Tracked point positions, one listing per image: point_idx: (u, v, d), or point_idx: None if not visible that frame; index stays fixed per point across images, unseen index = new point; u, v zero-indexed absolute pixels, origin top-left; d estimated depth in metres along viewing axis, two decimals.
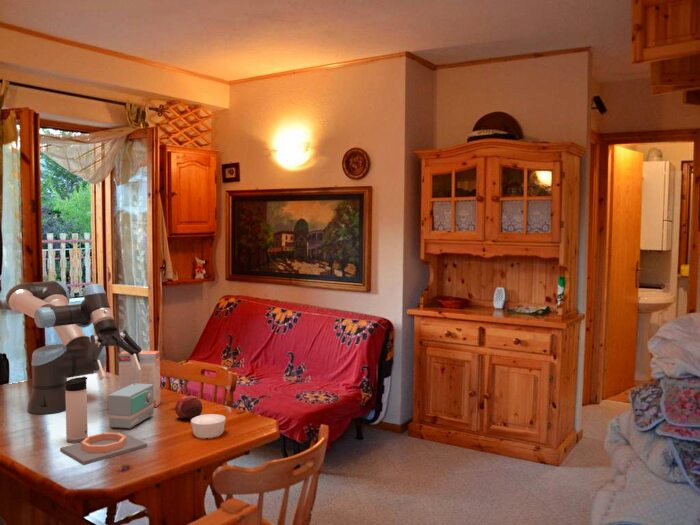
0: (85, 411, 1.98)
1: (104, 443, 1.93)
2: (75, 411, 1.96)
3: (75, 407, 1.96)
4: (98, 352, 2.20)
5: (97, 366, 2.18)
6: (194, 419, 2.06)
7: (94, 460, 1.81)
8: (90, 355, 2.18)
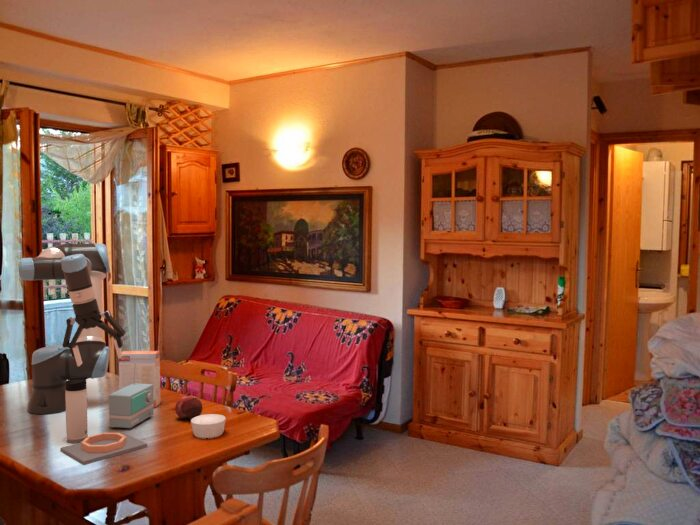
0: (85, 411, 1.98)
1: (104, 443, 1.93)
2: (75, 411, 1.96)
3: (75, 407, 1.96)
4: (74, 339, 2.05)
5: (73, 354, 2.07)
6: (194, 419, 2.06)
7: (94, 460, 1.81)
8: (65, 343, 2.05)
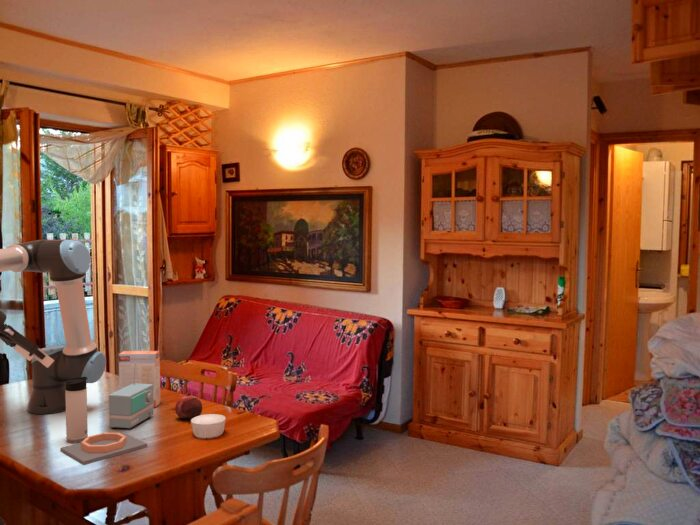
0: (85, 411, 1.98)
1: (104, 443, 1.93)
2: (75, 411, 1.96)
3: (75, 407, 1.96)
4: (7, 342, 1.88)
5: None
6: (194, 419, 2.06)
7: (94, 460, 1.81)
8: (5, 342, 1.91)
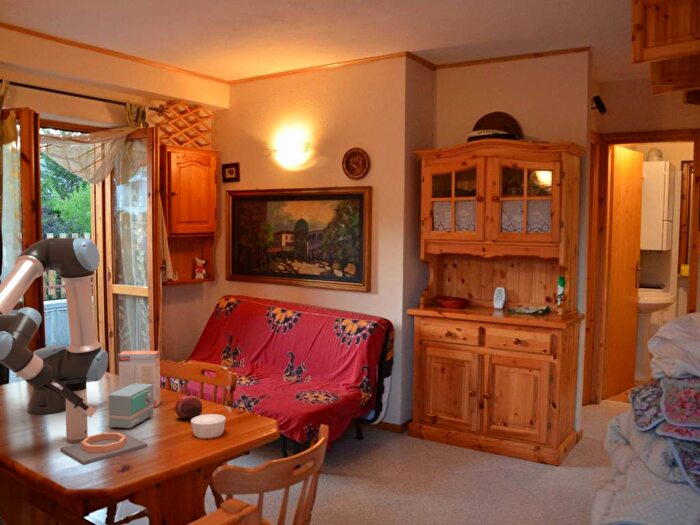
0: None
1: (104, 443, 1.93)
2: (75, 411, 1.96)
3: None
4: (58, 395, 1.98)
5: None
6: (194, 419, 2.06)
7: (94, 460, 1.81)
8: (57, 396, 2.00)
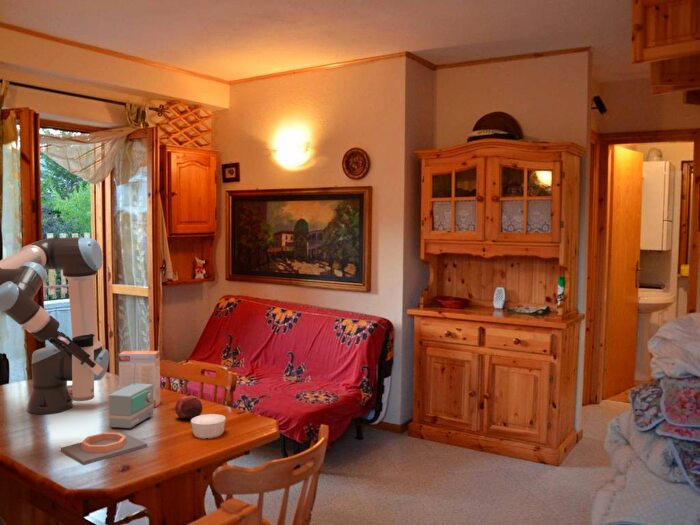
0: None
1: (104, 443, 1.93)
2: (81, 368, 1.91)
3: None
4: (65, 352, 1.93)
5: None
6: (194, 419, 2.06)
7: (94, 460, 1.81)
8: (64, 353, 1.95)
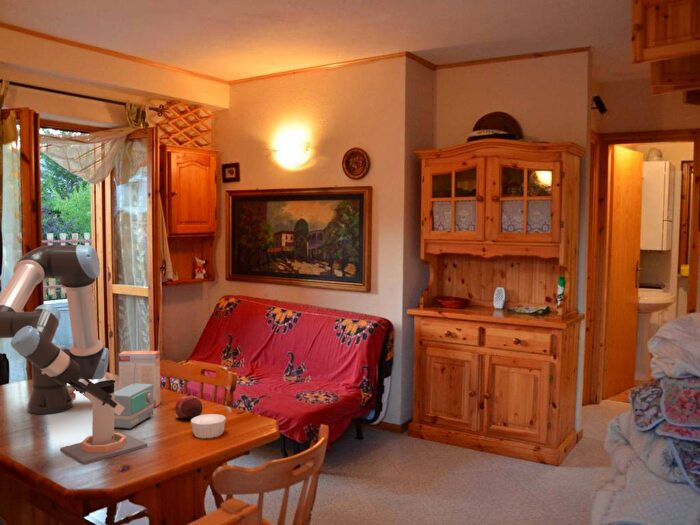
0: (112, 416, 1.90)
1: None
2: (102, 415, 1.88)
3: (102, 411, 1.88)
4: (78, 389, 1.91)
5: None
6: (194, 419, 2.06)
7: (94, 460, 1.81)
8: (75, 389, 1.93)
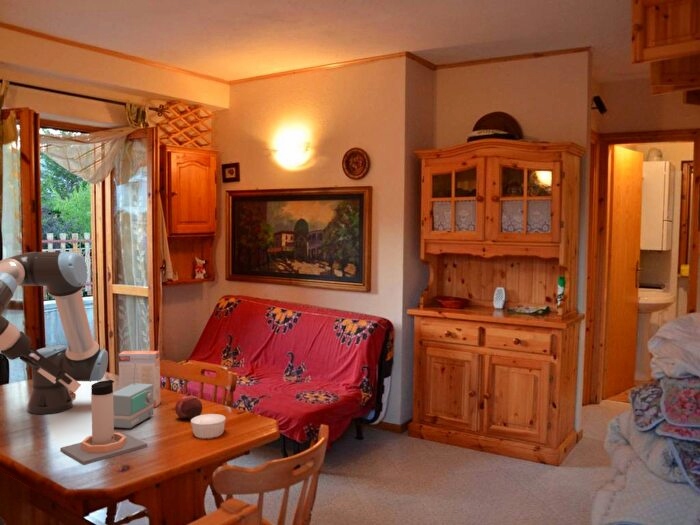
0: (112, 416, 1.90)
1: None
2: (102, 415, 1.88)
3: (101, 411, 1.88)
4: (31, 365, 1.80)
5: None
6: (194, 419, 2.06)
7: (94, 460, 1.81)
8: (29, 365, 1.82)
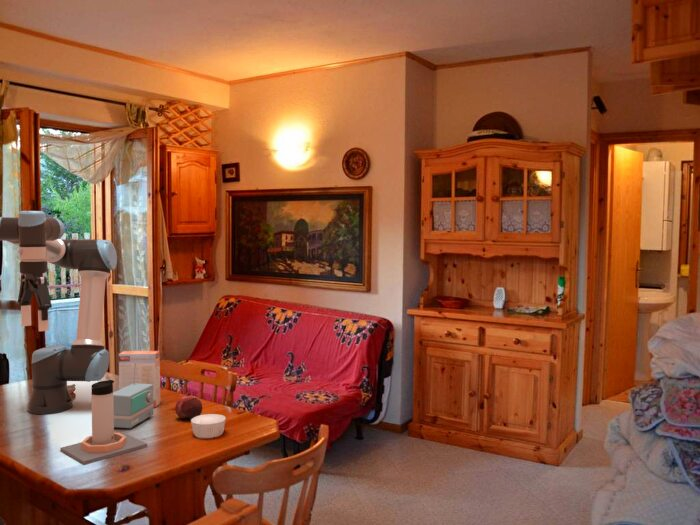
0: (112, 416, 1.90)
1: None
2: (102, 415, 1.88)
3: (102, 411, 1.88)
4: (22, 297, 1.96)
5: None
6: (194, 419, 2.06)
7: (94, 460, 1.81)
8: (19, 298, 1.99)
